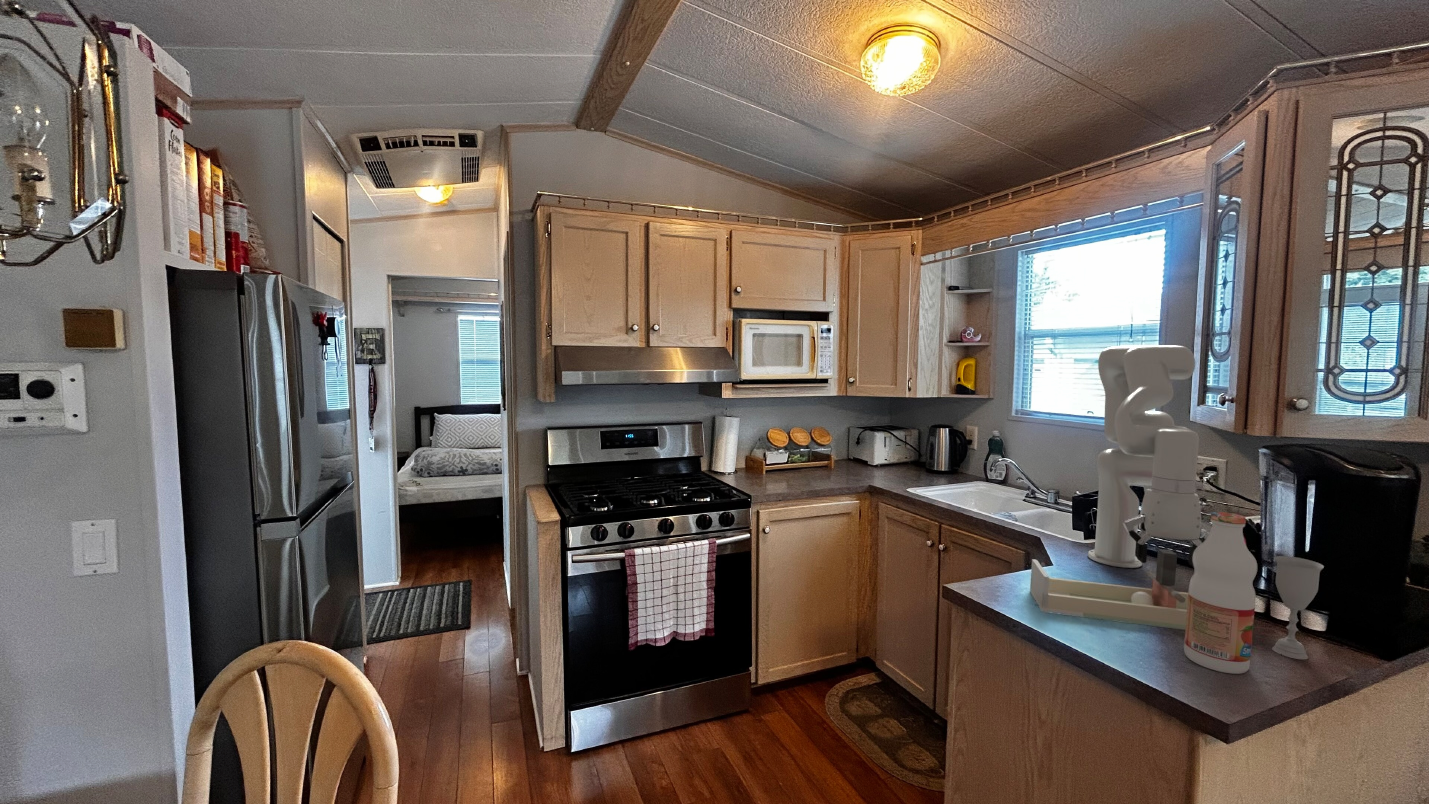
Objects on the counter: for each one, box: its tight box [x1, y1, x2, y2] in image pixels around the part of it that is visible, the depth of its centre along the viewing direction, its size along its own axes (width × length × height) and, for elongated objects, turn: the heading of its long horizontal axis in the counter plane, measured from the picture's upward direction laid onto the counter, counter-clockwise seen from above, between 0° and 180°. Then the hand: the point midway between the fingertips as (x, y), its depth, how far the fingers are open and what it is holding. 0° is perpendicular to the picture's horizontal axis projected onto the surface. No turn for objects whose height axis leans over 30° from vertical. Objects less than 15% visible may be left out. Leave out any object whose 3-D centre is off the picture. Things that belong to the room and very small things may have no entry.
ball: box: [1131, 591, 1153, 606], centre depth 131 cm, size 4×4×4 cm
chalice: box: [1271, 555, 1325, 660], centre depth 114 cm, size 7×7×18 cm
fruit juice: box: [1183, 511, 1258, 675], centre depth 110 cm, size 9×9×28 cm
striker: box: [1146, 548, 1185, 608], centre depth 130 cm, size 16×2×13 cm, turn 163°
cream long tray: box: [1029, 558, 1188, 631], centre depth 133 cm, size 12×32×8 cm, turn 73°
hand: (1167, 563), depth 129 cm, fingers open, 9 cm apart
